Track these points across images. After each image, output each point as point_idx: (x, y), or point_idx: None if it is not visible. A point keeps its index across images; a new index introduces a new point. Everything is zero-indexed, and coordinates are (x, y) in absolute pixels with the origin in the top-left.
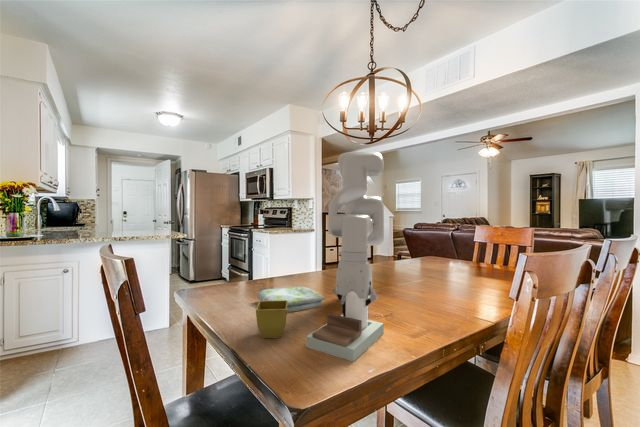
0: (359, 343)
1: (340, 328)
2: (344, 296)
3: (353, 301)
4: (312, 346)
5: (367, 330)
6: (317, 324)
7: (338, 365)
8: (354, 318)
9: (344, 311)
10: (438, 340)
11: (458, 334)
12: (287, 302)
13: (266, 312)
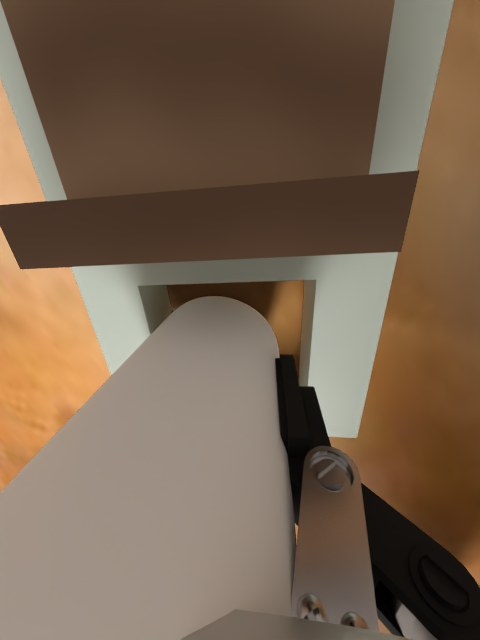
0: (15, 102)
1: (215, 177)
2: (316, 588)
3: (62, 475)
4: None
5: (124, 322)
6: (466, 336)
7: None
8: (166, 333)
9: (285, 386)
10: (8, 423)
11: (8, 471)
12: None
13: None
